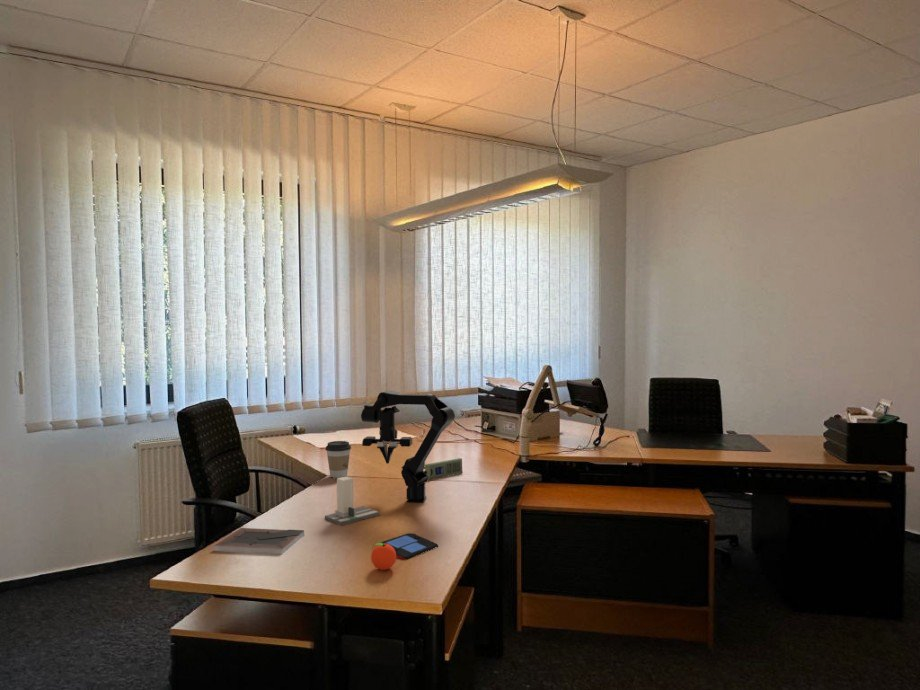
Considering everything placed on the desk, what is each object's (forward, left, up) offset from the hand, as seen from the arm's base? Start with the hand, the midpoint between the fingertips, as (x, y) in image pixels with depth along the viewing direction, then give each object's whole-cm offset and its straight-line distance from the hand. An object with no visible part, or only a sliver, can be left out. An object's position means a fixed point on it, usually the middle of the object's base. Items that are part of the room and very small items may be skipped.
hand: (387, 463), depth 242 cm
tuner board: (+7, +26, -13) cm, 30 cm away
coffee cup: (+29, -29, -13) cm, 43 cm away
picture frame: (+28, +53, -14) cm, 62 cm away
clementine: (-14, +70, -13) cm, 73 cm away
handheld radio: (-16, -32, -14) cm, 38 cm away
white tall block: (+8, +29, -12) cm, 32 cm away
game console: (-18, +54, -14) cm, 59 cm away
